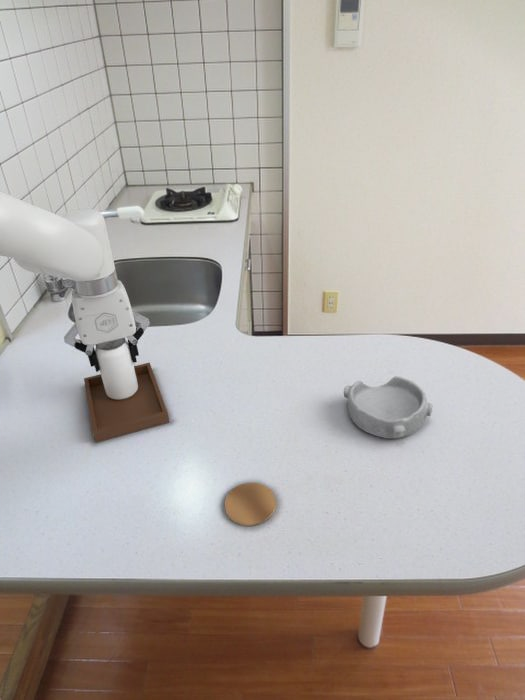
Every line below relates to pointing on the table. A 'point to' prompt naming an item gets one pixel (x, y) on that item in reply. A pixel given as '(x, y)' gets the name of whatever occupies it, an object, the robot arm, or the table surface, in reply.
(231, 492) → the coaster
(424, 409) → the dish
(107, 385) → the can
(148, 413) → the tray
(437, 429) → the table surface
